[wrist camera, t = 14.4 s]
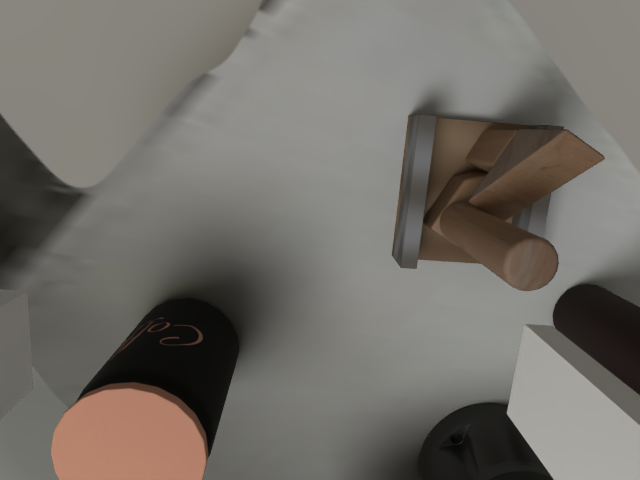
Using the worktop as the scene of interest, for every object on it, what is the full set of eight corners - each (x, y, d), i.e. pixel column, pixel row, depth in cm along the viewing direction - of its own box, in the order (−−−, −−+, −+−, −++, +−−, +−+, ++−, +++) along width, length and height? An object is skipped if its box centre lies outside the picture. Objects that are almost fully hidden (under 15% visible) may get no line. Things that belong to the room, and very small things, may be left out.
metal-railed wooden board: (513, 263, 49) (534, 276, 44) (391, 255, 48) (400, 267, 44) (538, 127, 46) (563, 126, 41) (408, 115, 45) (420, 114, 41)
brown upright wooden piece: (514, 148, 45) (648, 160, 28) (449, 240, 47) (536, 306, 29) (484, 127, 44) (602, 126, 27) (419, 220, 46) (490, 276, 29)
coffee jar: (225, 284, 48) (182, 372, 31) (251, 374, 51) (224, 504, 33) (126, 306, 48) (26, 406, 31) (156, 395, 51) (80, 534, 33)
